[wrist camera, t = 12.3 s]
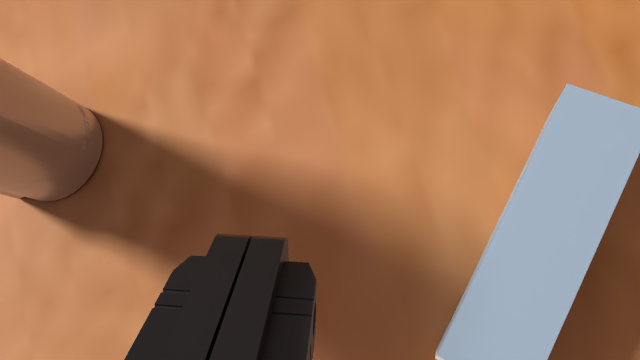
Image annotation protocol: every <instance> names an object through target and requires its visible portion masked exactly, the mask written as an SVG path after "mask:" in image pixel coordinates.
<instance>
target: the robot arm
mask: <svg viewBox="0 0 640 360" xmlns="http://www.w3.org/2000/svg"><path fill="white" fill-rule="evenodd" d="M102 144H103V143H102V131H101V127H100V124H99V122H98V120H97V118H96V117H95V115H94V114H93V113H92V112H91V111H90V110H88V109H86V108H85V107H83V106H81V105H80V104H78V103H76V102H75V101H73V100H71V99H69V98H68V97H66V96H64V95H63V94H61V93H59V92H57V91H56V90H54V89H53V88H51V87H49V86H47V85H46V84H44V83H42V82H40V81H39V80H37V79H35V78H33V77H32V76H30V75H28V74H26V73H25V72H23V71H21V70H20V69H18V68H16V67H14V66H13V65H11V64H9V63H7V62H6V61H4V60H2V59H0V194H2V195H6V196H10V197H14V198H17V199H19V198H22V197H28V198H31V199H35V200H39V201H47V202H48V201H56V200H59V199H62V198H65V197H67V196H69V195H71V194H72V193H74V192H76V191H77V190H78V189H79V188H80V187H81V186H82V185H84V184H85V182H86V181H87V180H88V179H89V177H90V176H91V175H92V173H93V171H94V170H95V168H96V166H97V164H98V161H99V158H100V155H101V150H102ZM315 322H316V278H315V276H314V274H313V271H312V269H311V267H310V265H309V263H302V262H288V240H287V238H280V237H263V236H253V237H252V236H244V235H228V234H217V235H216V237H215V239H214V241H213V243H212V245H211V247H210V249H209V252H208V254H207V256H206V257H205V256H190V257H189V258H188V259H186V260H185V261H184V262H183V263H182V264H180V265H179V266H178V267H177V268H176V269H174V270H173V272H172V274H171V275H170V277H169V279H168V281H167V283H166V284H165V286H164V288H163V293H162V292H161V294H160V295H159V297H158V299H157V301H156V303H155V307H154V308H152V310H151V312H150V314H149V316H148V317H147V319H146V321H145V323H144V325H143V327H142V328H141V330H140V332H139V334H138V336H137V338H136V339H135V341H134V343H133V345H132V347H131V349H130V350H129V352H128V354H127V356H126V358H125V359H124V360H312V358H313V349H314V340H315Z"/></svg>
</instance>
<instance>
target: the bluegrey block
mask: <svg viewBox="0 0 640 360" xmlns="http://www.w3.org/2000/svg"><path fill="white" fill-rule="evenodd" d="M639 153H640V108H638V107H635V106H632V105H629V104H626V103H623V102H620V101H617V100H614V99H612V98H609V97H606V96H603V95H600V94H597V93H594V92H591V91H588V90H585V89H582V88H579V87H576V86H573V85H570V84H566V86H565V88H564V90H563V92H562V93H561V95H560V97H559V99H558V100H557V102H556V104H555V106H554V107H553V109H552V111H551V113H550V114H549V116H548V118H547V121H546V123H545V125H544V127H543V129H542V131H541V133H540V135H539V137H538V139H537V141H536V143H535V146H534V148H533V150H532V152H531V154H530V156H529V158H528V160H527V162H526V164H525V166H524V168H523V171H522V173H521V175H520V177H519V179H518V181H517V183H516V185H515V187H514V189H513V191H512V193H511V196H510V198H509V200H508V202H507V204H506V206H505V208H504V210H503V212H502V214H501V216H500V218H499V221H498V223H497V225H496V227H495V229H494V231H493V233H492V235H491V237H490V239H489V241H488V243H487V246H486V248H485V250H484V252H483V254H482V256H481V258H480V260H479V262H478V264H477V266H476V268H475V271H474V273H473V275H472V277H471V279H470V281H469V283H468V285H467V287H466V289H465V291H464V293H463V296H462V298H461V300H460V302H459V304H458V306H457V308H456V310H455V312H454V314H453V316H452V318H451V321H450V323H449V325H448V327H447V329H446V331H445V333H444V335H443V337H442V339H441V341H440V343H439V346H438V348H437V350H436V354H435V359H437V360H547V359H548V357H549V355H550V352H551V350H552V348H553V346H554V344H555V341H556V339H557V337H558V335H559V332H560V330H561V328H562V326H563V323H564V321H565V319H566V317H567V314H568V312H569V310H570V308H571V305H572V303H573V301H574V299H575V297H576V294H577V292H578V290H579V288H580V285H581V283H582V281H583V279H584V276H585V274H586V272H587V270H588V267H589V265H590V263H591V261H592V259H593V256H594V254H595V252H596V250H597V247H598V245H599V243H600V241H601V238H602V236H603V234H604V232H605V229H606V227H607V225H608V223H609V220H610V218H611V216H612V214H613V212H614V209H615V207H616V205H617V203H618V200H619V198H620V196H621V194H622V191H623V189H624V187H625V185H626V182H627V180H628V178H629V176H630V174H631V171H632V169H633V167H634V165H635V162H636V160H637V158H638V156H639Z"/></svg>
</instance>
